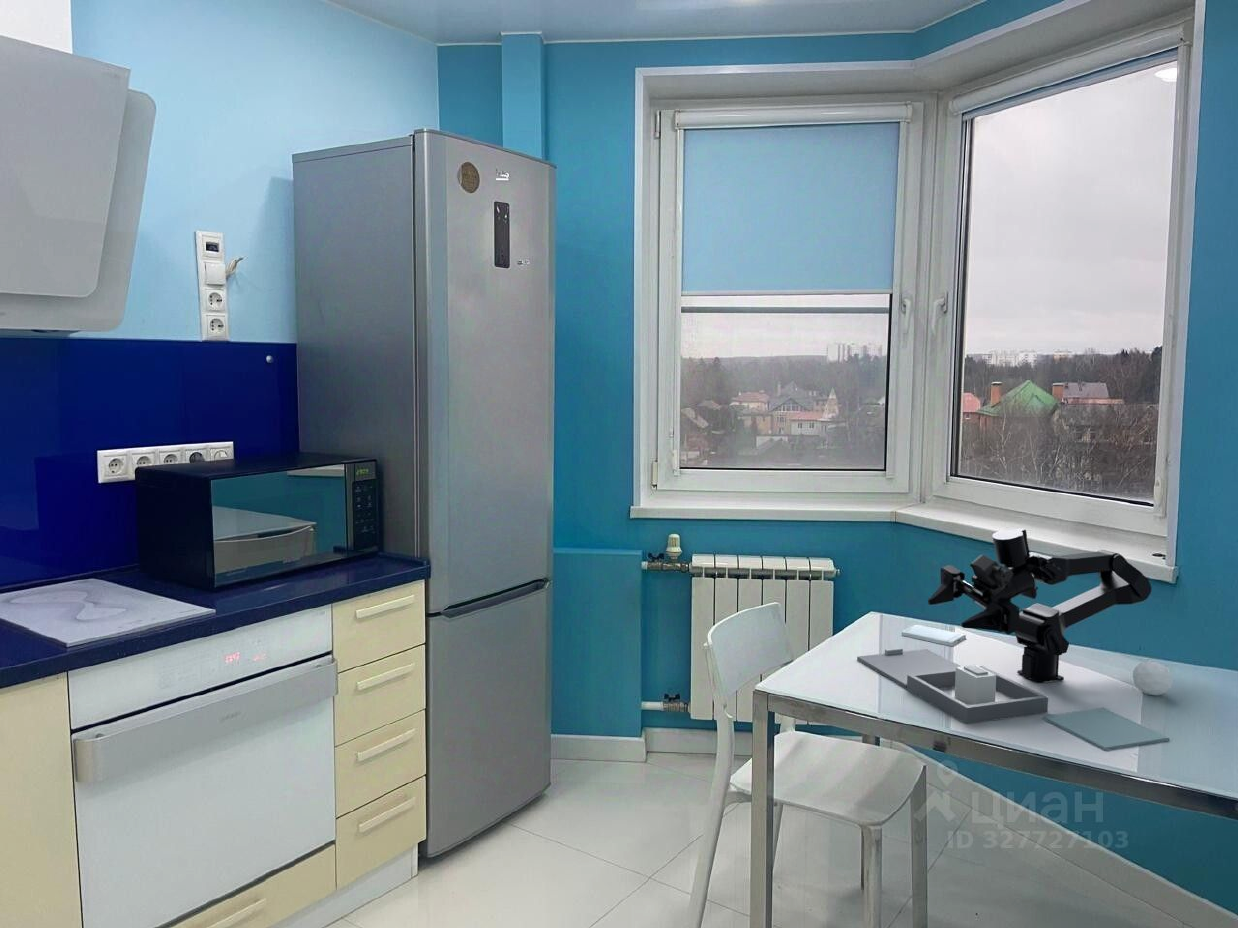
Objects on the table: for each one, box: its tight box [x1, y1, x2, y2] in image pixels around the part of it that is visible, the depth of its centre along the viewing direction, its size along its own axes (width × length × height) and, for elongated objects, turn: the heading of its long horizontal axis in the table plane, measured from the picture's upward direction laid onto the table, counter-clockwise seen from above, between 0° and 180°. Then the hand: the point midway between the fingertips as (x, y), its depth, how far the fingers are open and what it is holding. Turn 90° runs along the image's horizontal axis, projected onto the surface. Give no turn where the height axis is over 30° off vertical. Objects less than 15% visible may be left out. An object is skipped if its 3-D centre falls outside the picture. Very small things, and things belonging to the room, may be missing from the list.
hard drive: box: [901, 624, 967, 647], centre depth 206 cm, size 2×8×12 cm
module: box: [954, 664, 997, 705], centre depth 166 cm, size 4×6×6 cm
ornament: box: [1132, 658, 1172, 696], centre depth 169 cm, size 6×7×7 cm
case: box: [856, 647, 1049, 725], centre depth 175 cm, size 18×36×3 cm, turn 16°
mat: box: [1042, 707, 1170, 751], centre depth 152 cm, size 14×14×1 cm
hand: (945, 613), depth 169 cm, fingers open, 9 cm apart
